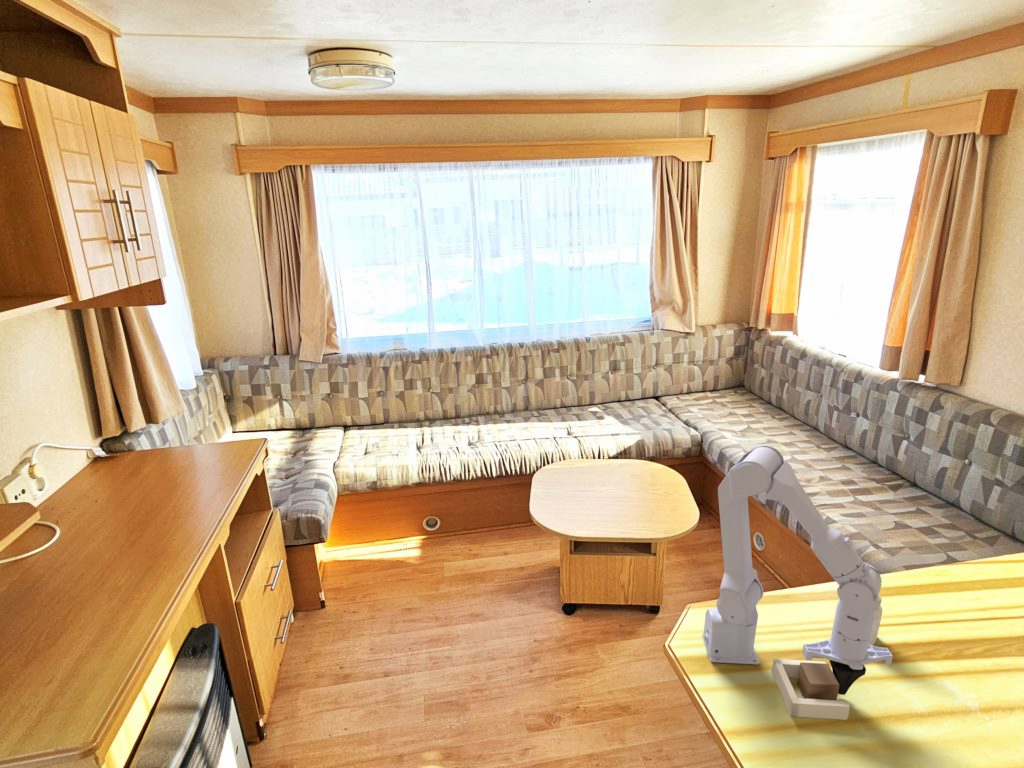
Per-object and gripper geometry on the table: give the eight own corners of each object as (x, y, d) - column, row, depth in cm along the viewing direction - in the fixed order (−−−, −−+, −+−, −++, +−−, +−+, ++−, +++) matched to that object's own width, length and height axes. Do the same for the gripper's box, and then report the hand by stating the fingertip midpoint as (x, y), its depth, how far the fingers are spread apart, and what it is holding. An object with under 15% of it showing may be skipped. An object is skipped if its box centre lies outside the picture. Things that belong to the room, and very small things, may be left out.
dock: (790, 716, 105) (793, 703, 104) (771, 671, 114) (773, 658, 114) (847, 719, 104) (849, 706, 103) (822, 674, 114) (825, 661, 113)
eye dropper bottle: (885, 644, 121) (896, 595, 117) (862, 649, 120) (873, 600, 116) (868, 629, 125) (878, 582, 121) (846, 634, 124) (855, 586, 120)
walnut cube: (806, 705, 107) (810, 683, 105) (796, 683, 112) (800, 662, 110) (835, 707, 106) (839, 685, 105) (824, 685, 111) (828, 663, 110)
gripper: (818, 643, 101) (807, 705, 105) (907, 648, 99) (892, 710, 104) (802, 615, 107) (792, 675, 112) (885, 619, 106) (872, 679, 110)
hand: (839, 690), depth 108 cm, fingers closed
